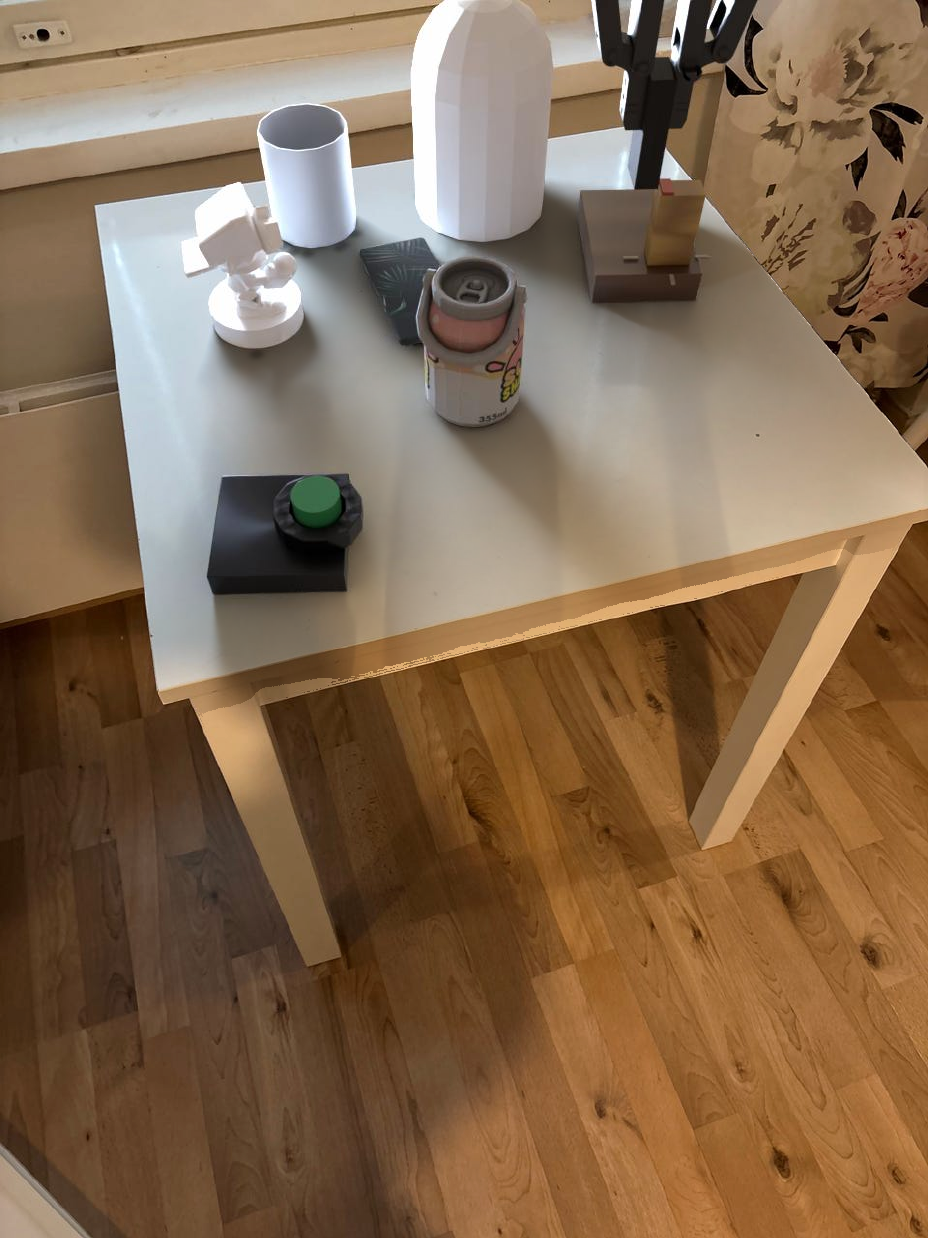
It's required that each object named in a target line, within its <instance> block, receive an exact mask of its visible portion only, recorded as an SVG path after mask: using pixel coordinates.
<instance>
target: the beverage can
mask: <svg viewBox="0 0 928 1238" xmlns="http://www.w3.org/2000/svg"><path fill="white" fill-rule="evenodd" d="M423 285H424V287H423V290H422V294H421V298H420V302H419V306H418V311H417V315H416V323H417V330H418V336H419V338H420V340H421V341H422V342H421V343H422V344H423V354H424V380H425V381H424V382H425V383H424V384H425V395H426V398H427V402H428V404H429V405H430V407H431V408H432V410H433V411H434V412H435V414H437V415H438V416H440V417H441V418H442V419H444V420H445V421H447V422H449V423H451V424H454V425H457V426H460V427H464V428H465V427H466V428H480V427H487V426H489V425H493V424H495V423H497V422H499V421H502V420H503V419H504V418H505V417H507V416H508V415H509V414H511V413H512V411H514V409H515V407H516V406H517V403H518V402H519V399H520V393H521V392H520V391H521V381H522V380H521V379H522V378H521V377H522V363H523V352H524V351H523V348H524V334H525V322H526V321H525V320H526V319H525V318H526V307H525V303H526V302H527V301H528V294H527V285H523V284H518V279H517V276H516V273H515V272H514V271H513V270H512V269H511V268H510V267H509V266H508V265H506V264H505V263H503V262H501V261H500V260H497V259H494V258H490V257H487V256H477V255H476V256H475V255H471V256H463V257H462V256H461V257H458V258H455V259H453V260H452V259H451V260H449V261H447V262H446V263H444V264H443V265H441V266H439V268H438V270H434V269H428V270H427V272H426V275H425V276H424V277H423Z"/></svg>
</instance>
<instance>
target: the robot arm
mask: <svg viewBox="0 0 928 1238" xmlns="http://www.w3.org/2000/svg"><path fill="white" fill-rule="evenodd" d="M619 1H620V0H591V7H592V14H593V15H592V17H593V24H594V25H593V26H594V33H595V40H596V43H597V46H598V51H599V54H600V57H601V60H602V63H603V64H604V65H605V66H606V67H609V68H613V67H618V68H621V69H623V70H624V71H623V80H622V88H621V94H620V103H619V109H618V111H619V114H620V117H621V122H622V124H623V129H624V131H632V135H631V141H630V147H629V154H628V160H627V161H628V162H627V168H628V173H629V176H630V180H631V183H632V186H633V189H634V190H642V189H658V187H659V181H660V178H661V175H662V169H663V165H664V158H665V152H666V147H667V142H668V136H669V130H675V129H676V130H682V129H683V127H684V125H685V124H686V123H687V121H688V116H689V110H690V107H691V106H690V105H691V100H692V94H693V91H694V90H693V89H694V84H695V82H697V81H699V80H700V78H701V77H702V75H703V69H702V68H704V67H706V66H708V65H710V64H713V63H717V64H719V65H720V64H726V63H729V61H730V60H732V58H733V56H734V54H735V53H736V50H737V48H738V45H739V43H740V42H741V39H742V37H743V35H744V33H745V30H746V29H747V25H748V23H749V21H750V19H751V16H752V15H753V12H754V9H755V8H756V5H757V3H758V1H759V0H716V2H715V4H714V6H713V10H712V11H711V9H712V5H713V0H678V1H677V6H676V11H675V12H676V13H675V19H674V25H673V31H672V36H671V44H670V51H671V56H657V55H656V54H657V48H658V43H659V37H660V30H661V25H662V18H663V12H664V5H665V0H631V6H630V13H629V21H628V28H627V33H626V32H623V31H622V23H621V11H620V10H621V9H620V2H619Z"/></svg>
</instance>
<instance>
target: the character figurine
mask: <svg viewBox="0 0 928 1238" xmlns="http://www.w3.org/2000/svg"><path fill="white" fill-rule="evenodd" d="M194 218H195V220H194V221H195V227H196V237H193V238H189V239H187V240H184V241H183V240H182V242H181V252H182V262H183V272H184V274H185V276H186V278H187V279H191V278H194V277H196V276H199V275H202V274H205V273H208V272H210V271H212V270H216V269H219V270H220V271H222V272H223V273H226V279H224V280H222V281H221V282H219V283H218V284H217V286H216V287H215V288H213V290H212V292H211V294H210V296H209V299H208V308H209V312H210V316H211V320H212V324H213V329H214V330H215V333H216V334H217V335H218V336H219V337H220V338H221V339H222V340H223V341H225V342H226V343H228V344H230V345H233V346H234V347H235V346H236V347H239V348H244V349H264V348H269V347H274V346H277V345H280V344H282V343H284V342H285V341H287V340H289V339H290V338H291V337H293V336H294V335H295V334H296V333H297V332H298V331H299V330H300V328H301V326H302V325H303V322H304V319H305V316H304V306H303V299H302V295H301V291H300V289H299V286H298V285H297V284H296V282H294V280H292V278H293V277H294V276H295V274H296V271H297V268H298V267H297V261H296V259H295V258H294V256H293V255H292V254H290V253H289V252H284V251H283V252H280V251H279V249H283V248H284V244H283V240H282V238H281V234H280V229H279V226H278V222H277V221H276V220H274V219H273V218H272V217H270V211H269V205H268V204H265V205H261V206H253V204H252V202H251V199H250V198H249V196H248V194H247V192H246V190H245V188H244V185H243V184H242V183H241V182H236V183H233V184H228V185H226V186H225V187H223V188H222V189H221V190H219V191H218V192H217V193H216V194H214V195H213V196H211V198H208V200H206V201H205V202H204V203H203V204H201V205H200V206H199V207H197V208H196V210H195V212H194ZM276 253H277V254H276ZM273 254H276V255H275V256H274V258H273V261H272V262H273V263H271V262H269V263H268V262H267V260H268V258H269V255H273ZM265 263H266V264H265ZM264 264H265V266H264ZM262 266H264V267H263V270H261V269H260V268H261V267H262Z"/></svg>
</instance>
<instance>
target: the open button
mask: <svg viewBox="0 0 928 1238" xmlns="http://www.w3.org/2000/svg"><path fill="white" fill-rule="evenodd" d="M291 502H292V507H293V512H294V516H295V518H296V519H297V521H298V522H299V523H301V524H302V525H304V526H307V527H310V528H322V527H326V526H328V525H331V524H332V523H334V522H335V521H336V520H337V519H338V518H339V517H340V515H341V512H342V503H341V496H340V490H339V487H338V485H337V484H336V483H335V482H334V481H333V480H331V479H329V478H326V477H322V476H312V477H308V478H305V479H303V480H301V481H299V482H298V483H297V484H296V485H295V486H294V487H293V489H292V491H291Z"/></svg>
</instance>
